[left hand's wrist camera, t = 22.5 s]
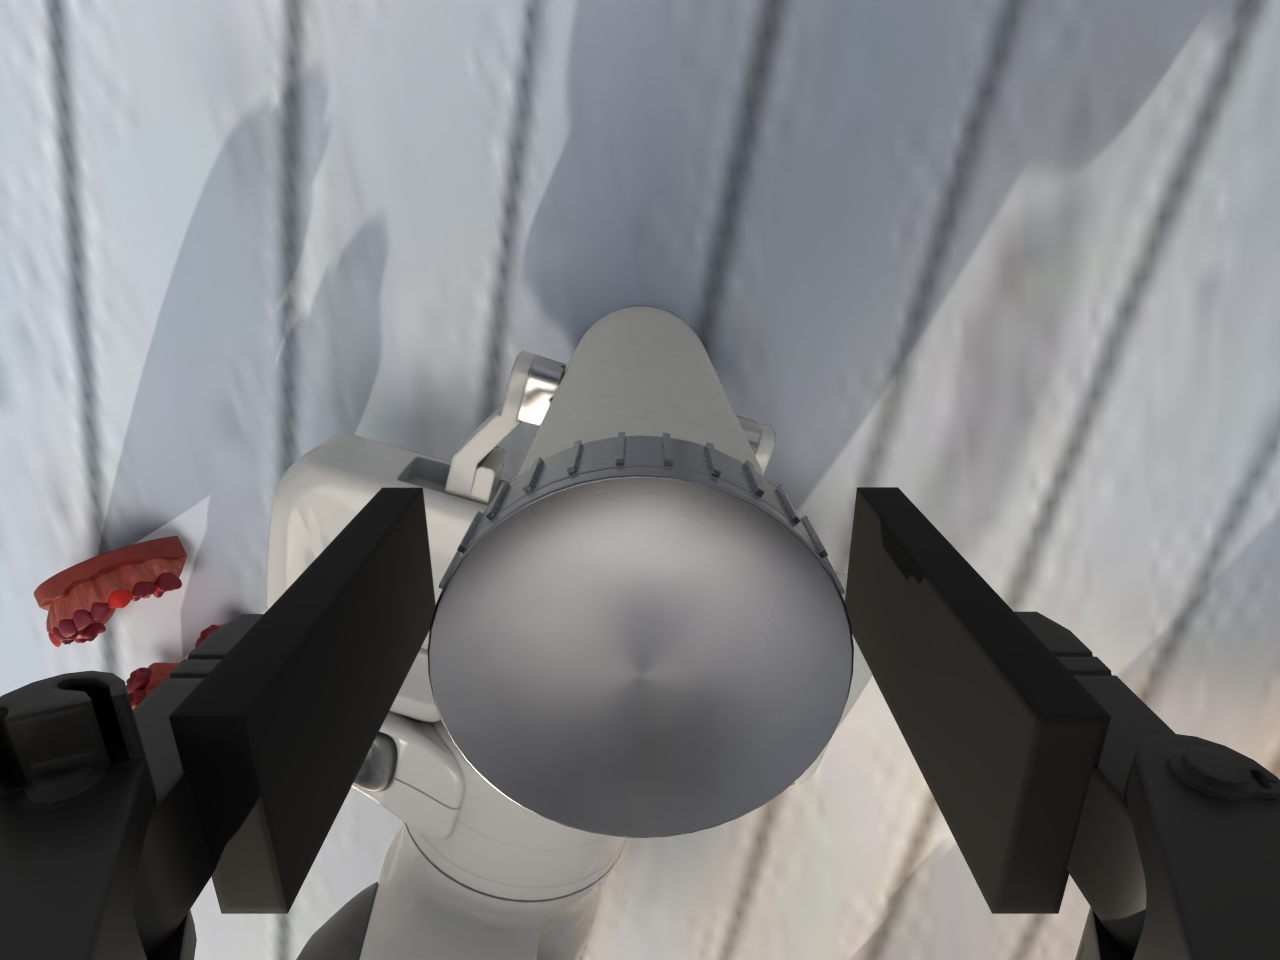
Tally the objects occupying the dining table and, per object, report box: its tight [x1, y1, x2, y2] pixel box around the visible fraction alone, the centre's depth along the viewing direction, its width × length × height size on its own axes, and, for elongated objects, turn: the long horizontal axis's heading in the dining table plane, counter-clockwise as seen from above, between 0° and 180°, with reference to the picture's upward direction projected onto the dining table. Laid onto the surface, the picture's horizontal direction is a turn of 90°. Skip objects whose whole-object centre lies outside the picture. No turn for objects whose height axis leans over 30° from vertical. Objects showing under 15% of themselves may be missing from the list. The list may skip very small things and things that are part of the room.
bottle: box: [515, 306, 765, 479], centre depth 20 cm, size 6×6×19 cm
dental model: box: [34, 536, 228, 709], centre depth 30 cm, size 6×4×8 cm
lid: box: [427, 432, 854, 838], centre depth 11 cm, size 6×6×2 cm
